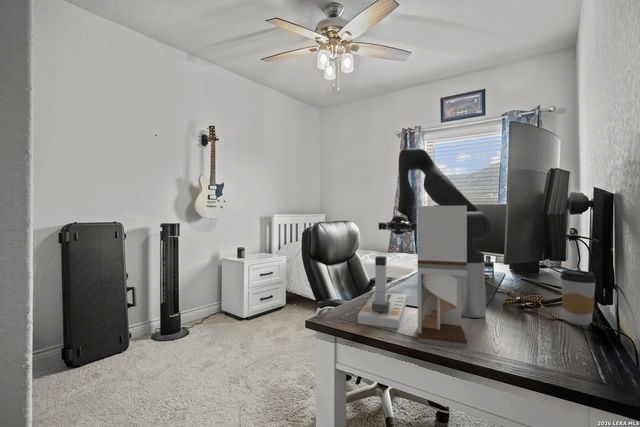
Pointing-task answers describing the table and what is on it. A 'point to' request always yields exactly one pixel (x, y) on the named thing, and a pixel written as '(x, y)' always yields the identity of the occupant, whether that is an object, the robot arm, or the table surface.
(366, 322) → the console
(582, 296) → the coffee cup
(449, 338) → the display case
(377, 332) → the table surface
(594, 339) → the table surface
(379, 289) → the fader
